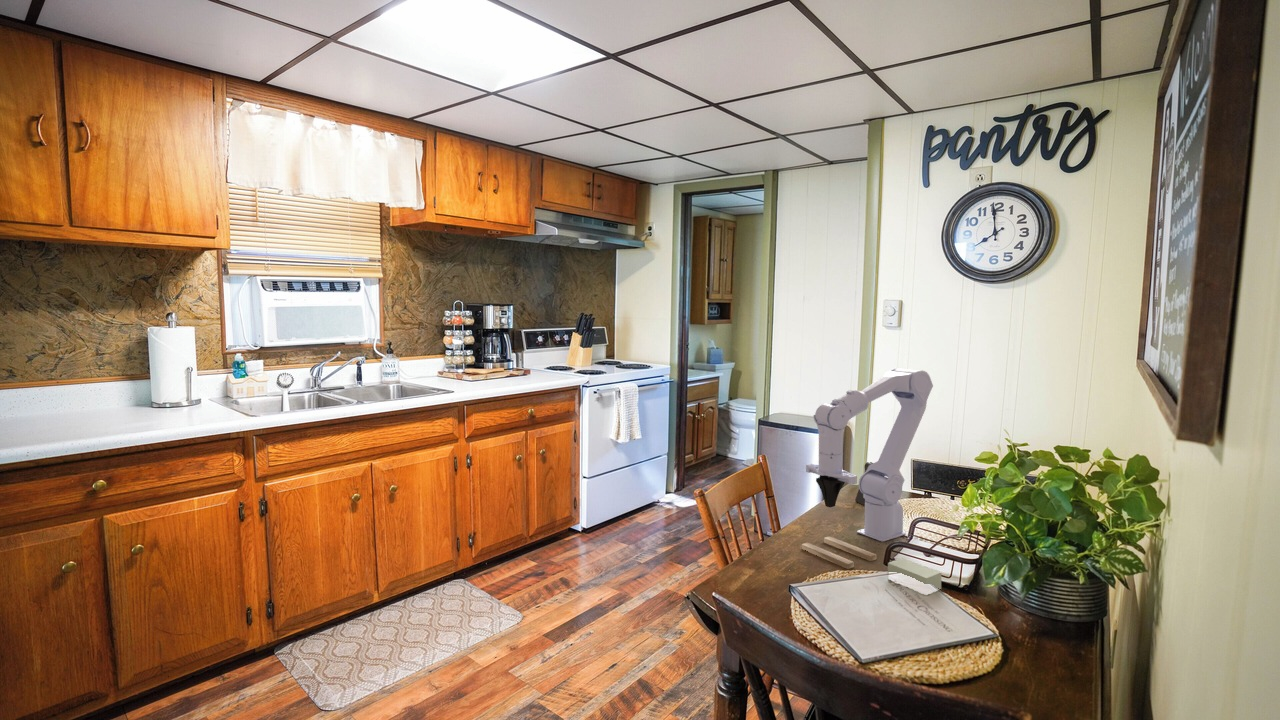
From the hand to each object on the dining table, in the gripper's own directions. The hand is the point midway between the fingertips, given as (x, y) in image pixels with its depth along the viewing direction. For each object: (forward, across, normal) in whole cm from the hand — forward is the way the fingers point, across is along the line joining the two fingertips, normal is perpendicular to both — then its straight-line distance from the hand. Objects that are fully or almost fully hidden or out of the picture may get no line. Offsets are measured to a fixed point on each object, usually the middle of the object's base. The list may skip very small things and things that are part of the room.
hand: (830, 506), depth 149 cm
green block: (+10, +26, -4) cm, 28 cm away
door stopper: (+10, -15, +36) cm, 40 cm away
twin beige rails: (+9, +6, -4) cm, 12 cm away
